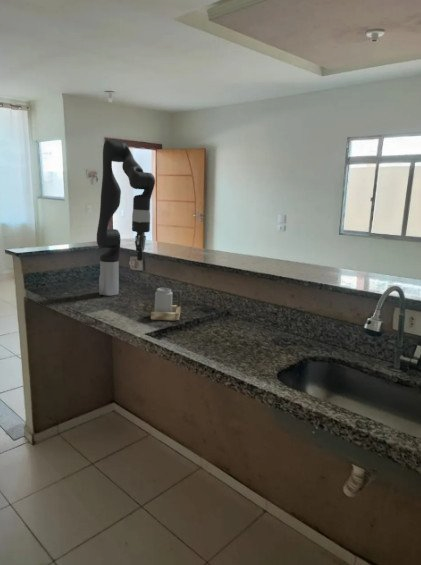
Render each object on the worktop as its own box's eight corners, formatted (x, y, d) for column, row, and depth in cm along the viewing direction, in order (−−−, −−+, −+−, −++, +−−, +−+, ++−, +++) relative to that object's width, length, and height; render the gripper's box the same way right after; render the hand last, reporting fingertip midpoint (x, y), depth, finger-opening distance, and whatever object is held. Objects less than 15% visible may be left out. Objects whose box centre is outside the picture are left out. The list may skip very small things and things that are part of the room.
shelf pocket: (150, 319, 170) (151, 296, 168) (154, 310, 183) (155, 289, 181) (178, 320, 171) (179, 297, 168) (180, 311, 183) (181, 290, 181)
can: (175, 315, 178) (176, 288, 176) (165, 319, 172) (166, 291, 169) (161, 312, 182) (161, 286, 179) (151, 315, 175) (151, 289, 173)
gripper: (135, 218, 178) (134, 257, 182) (129, 221, 166) (128, 262, 169) (152, 219, 178) (150, 258, 182) (147, 222, 166) (146, 263, 170)
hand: (140, 260), depth 176 cm, fingers closed
